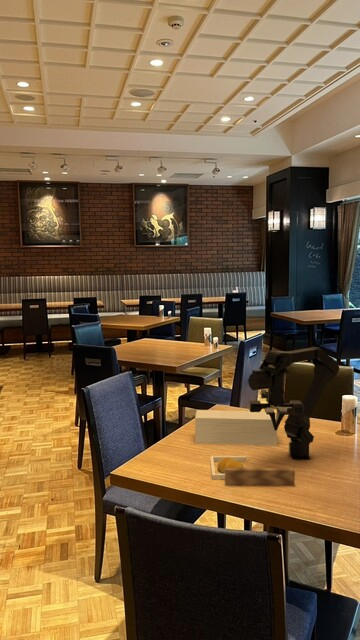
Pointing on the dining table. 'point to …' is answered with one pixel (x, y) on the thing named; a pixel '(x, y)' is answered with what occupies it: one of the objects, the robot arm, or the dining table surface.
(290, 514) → the dining table surface
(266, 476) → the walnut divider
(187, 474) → the dining table surface
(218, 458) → the serving bay
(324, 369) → the robot arm
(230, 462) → the bread roll
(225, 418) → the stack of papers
